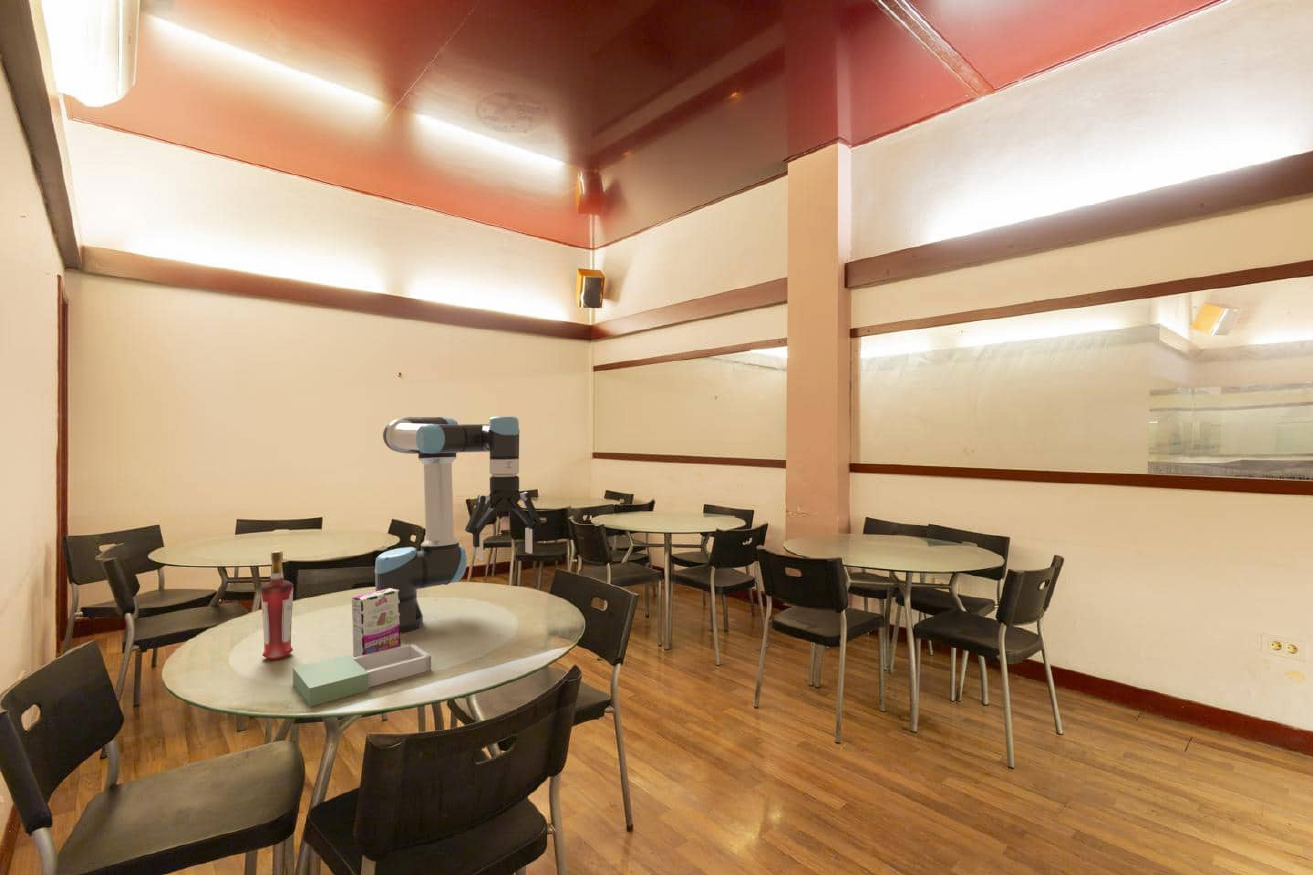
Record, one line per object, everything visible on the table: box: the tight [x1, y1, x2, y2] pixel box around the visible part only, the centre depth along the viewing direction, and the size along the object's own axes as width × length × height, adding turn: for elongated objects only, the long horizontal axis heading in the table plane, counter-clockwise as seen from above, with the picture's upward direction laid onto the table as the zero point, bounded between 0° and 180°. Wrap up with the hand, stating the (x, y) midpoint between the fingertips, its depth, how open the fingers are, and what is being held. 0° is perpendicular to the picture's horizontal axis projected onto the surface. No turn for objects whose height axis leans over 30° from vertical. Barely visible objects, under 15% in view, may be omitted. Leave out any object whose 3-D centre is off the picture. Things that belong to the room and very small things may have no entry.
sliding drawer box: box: [292, 643, 432, 708], centre depth 143 cm, size 16×27×4 cm, turn 133°
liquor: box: [260, 550, 294, 661], centre depth 157 cm, size 7×7×28 cm
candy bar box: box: [351, 588, 402, 658], centre depth 159 cm, size 11×5×16 cm, turn 148°
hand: (504, 556), depth 155 cm, fingers open, 13 cm apart
